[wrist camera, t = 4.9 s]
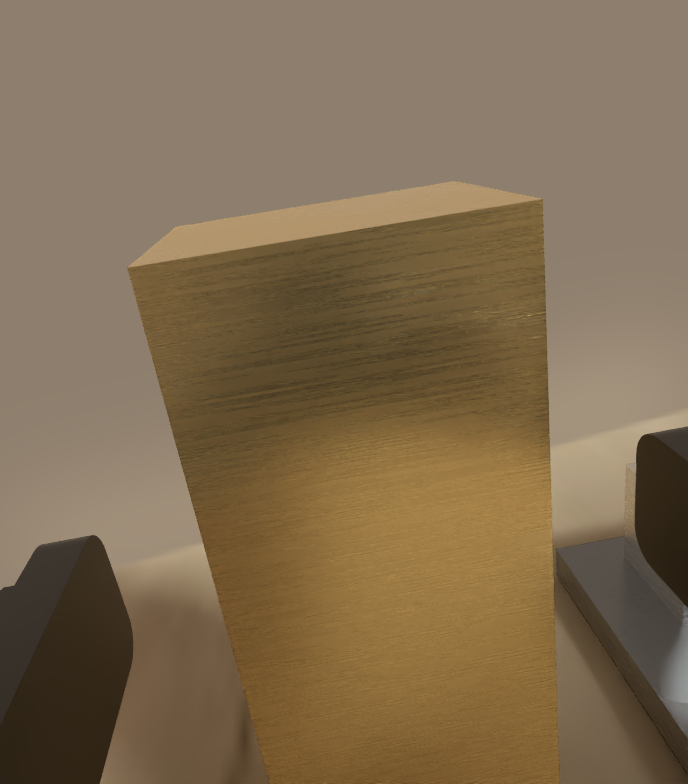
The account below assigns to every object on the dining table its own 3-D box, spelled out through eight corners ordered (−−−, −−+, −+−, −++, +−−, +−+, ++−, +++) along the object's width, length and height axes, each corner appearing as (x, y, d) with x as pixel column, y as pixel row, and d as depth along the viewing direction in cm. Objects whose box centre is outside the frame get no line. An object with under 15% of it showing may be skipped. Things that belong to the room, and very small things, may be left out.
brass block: (561, 880, 12) (543, 198, 8) (310, 933, 12) (127, 267, 7) (496, 712, 16) (455, 181, 11) (302, 750, 16) (176, 226, 11)
